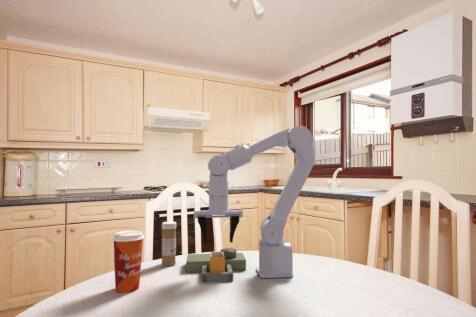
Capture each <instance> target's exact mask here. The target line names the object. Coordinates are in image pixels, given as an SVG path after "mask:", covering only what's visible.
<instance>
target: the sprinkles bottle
mask: <svg viewBox="0 0 476 317" xmlns="http://www.w3.org/2000/svg"><path fill="white" fill-rule="evenodd" d="M161 229H162V234H161V235H162V236H161V265H162V266H164V267H171V266H174V265H176V263H177V262H176V253H177V234H176V233H177V231H176V229H177V221H172V220H171V221H163V222H162V223H161Z"/></svg>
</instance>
